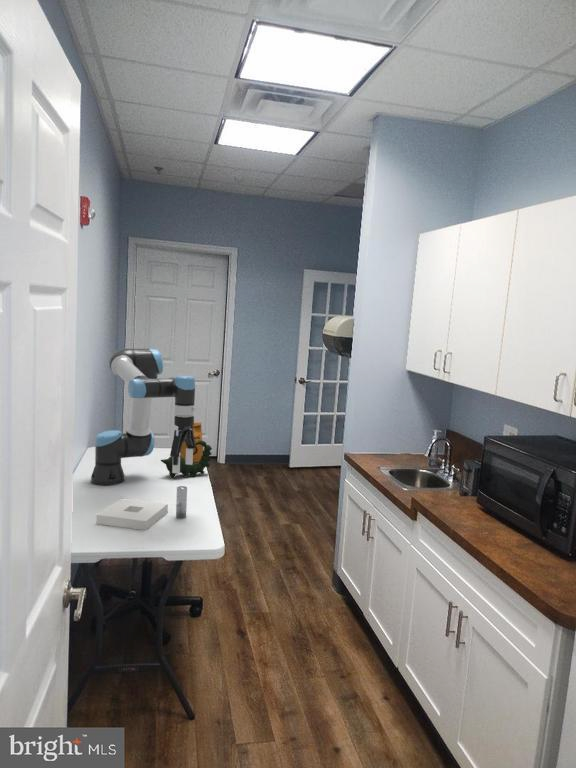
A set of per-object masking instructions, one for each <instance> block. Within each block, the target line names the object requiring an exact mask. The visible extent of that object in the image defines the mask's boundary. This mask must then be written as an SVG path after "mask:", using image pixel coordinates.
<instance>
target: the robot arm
mask: <svg viewBox="0 0 576 768" xmlns="http://www.w3.org/2000/svg"><path fill="white" fill-rule="evenodd" d="M162 356H163V355H162V354H161V352H160V351H159V350H158V349H157V348H121V349H119V350H117V351H115V352H114V353H113V354H112V355H111V357H110V359H109V363H108V364H109V368H110V370H111V372H112V373H113V375H115V376H117V377H120V378H121V379H122V380H123V381H124V383H125V384H127V389H128V391H127V392H128V395H129V397H130V398H131V399H132V404H131V412H130V413H131V414H130V423H129V424H130V425H129V426H127V428H126V431H125V433H122V431H121V430H117V429H116V430H115V429H113V430H105V431H102V432H100V433H98V434H96V437H95V443H94V446H95V448H94V449H95V450H94V451H95V455H94V457H95V459H94V460H95V462H94V468H93V470H92V473H91V476H90V482H91V483H92V484H95V485H98V486H112V485H118V484H122V483H123V482H125V481H126V480H125V477H126V476H125V472H124V468H123V467H122V459H126V458H136V457H140V458H141V457H145V456H146V457H147V456H149V455H150V454H152V452H153V451H154V447H155V442H156V441H155V435H154V433H153V432H152V430H151V428H150V427H149V424H150V417H151V410H152V409H151V406H152V398H154V399H155V398H156V399H157V398H174V415H175V416H173V417H174V420H173V421H174V422H173V423H174V426H176V427H177V429H175V430H174V431H173V439H172V444H171V450H170V453H169V457H171V456H173V466H172V473H179V474H181V473H180V456H179V455H180V451H181V448H182V445H183V442H184V441H185V443H186V446H187V448H186V464H188V465H192V464H193V463H194V462H193V449H192V448H195V439H194V433H193V425H194V423H195V416H194V415H195V411H196V407H195V398H196V397H195V396H196V379H195V376H193V375H177V376H175V377H173V376H172V377H171V376H170V377H167V378H158V375H160V374H162V373H163V372H164V361H163V357H162Z"/></svg>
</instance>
